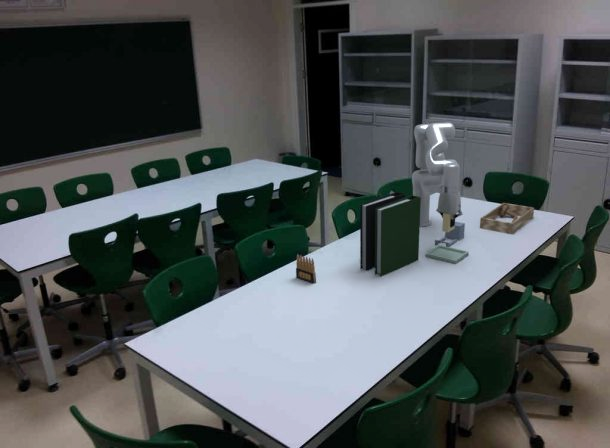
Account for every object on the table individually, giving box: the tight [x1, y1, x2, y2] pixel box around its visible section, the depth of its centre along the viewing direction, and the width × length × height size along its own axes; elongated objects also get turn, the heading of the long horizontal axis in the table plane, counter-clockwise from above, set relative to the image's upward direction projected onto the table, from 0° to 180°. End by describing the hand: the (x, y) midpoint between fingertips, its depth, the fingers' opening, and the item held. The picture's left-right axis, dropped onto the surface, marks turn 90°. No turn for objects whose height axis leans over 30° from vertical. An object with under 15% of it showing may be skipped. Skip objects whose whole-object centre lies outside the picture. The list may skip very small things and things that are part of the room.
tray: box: [424, 244, 469, 265], centre depth 264 cm, size 16×14×2 cm
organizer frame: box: [479, 202, 535, 235], centre depth 306 cm, size 18×34×6 cm, turn 140°
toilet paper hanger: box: [499, 205, 518, 223], centre depth 308 cm, size 25×9×8 cm, turn 149°
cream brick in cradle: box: [441, 213, 455, 233], centre depth 259 cm, size 3×7×9 cm, turn 140°
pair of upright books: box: [359, 191, 421, 278], centre depth 253 cm, size 27×15×32 cm, turn 132°
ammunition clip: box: [295, 253, 317, 284], centre depth 242 cm, size 11×2×12 cm, turn 48°
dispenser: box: [434, 221, 466, 248], centre depth 282 cm, size 8×18×8 cm, turn 140°
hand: (448, 225), depth 259 cm, fingers closed on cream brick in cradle, 3 cm apart
